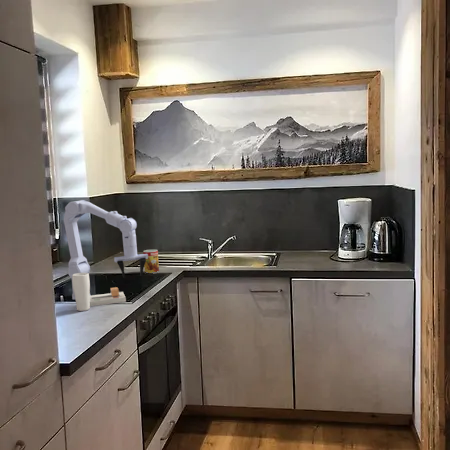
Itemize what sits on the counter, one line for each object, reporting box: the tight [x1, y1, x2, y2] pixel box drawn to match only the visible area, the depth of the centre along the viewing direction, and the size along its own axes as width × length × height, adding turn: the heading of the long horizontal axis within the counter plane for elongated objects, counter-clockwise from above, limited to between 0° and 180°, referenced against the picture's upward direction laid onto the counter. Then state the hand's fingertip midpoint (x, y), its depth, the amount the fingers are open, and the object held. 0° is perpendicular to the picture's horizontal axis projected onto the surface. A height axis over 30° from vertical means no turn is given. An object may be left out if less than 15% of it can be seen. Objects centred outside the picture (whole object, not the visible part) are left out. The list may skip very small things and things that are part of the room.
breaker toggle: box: [110, 286, 120, 296], centre depth 236 cm, size 5×3×3 cm, turn 17°
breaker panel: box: [90, 291, 127, 307], centre depth 235 cm, size 11×16×2 cm
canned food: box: [142, 249, 160, 273], centre depth 295 cm, size 8×8×12 cm
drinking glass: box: [71, 272, 91, 312], centre depth 222 cm, size 7×7×15 cm
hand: (132, 276), depth 238 cm, fingers open, 7 cm apart
